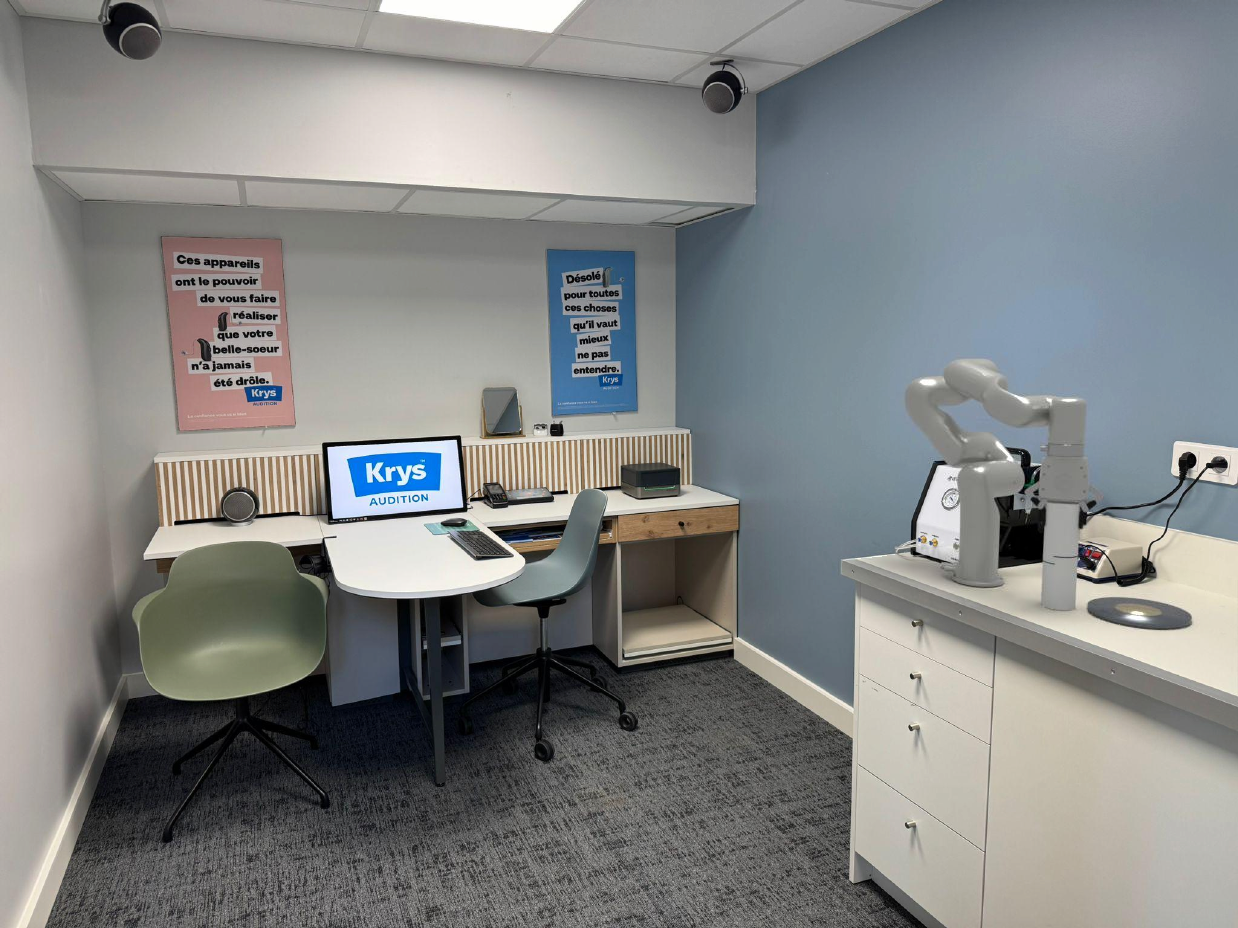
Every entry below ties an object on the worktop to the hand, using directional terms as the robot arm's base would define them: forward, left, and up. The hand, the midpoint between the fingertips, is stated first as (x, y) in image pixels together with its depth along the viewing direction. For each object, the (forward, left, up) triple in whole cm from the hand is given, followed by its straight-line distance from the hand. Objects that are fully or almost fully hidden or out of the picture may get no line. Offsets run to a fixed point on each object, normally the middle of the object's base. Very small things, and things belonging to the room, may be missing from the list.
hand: (1061, 525), depth 190 cm
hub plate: (+16, 0, -19) cm, 25 cm away
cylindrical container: (0, 0, -19) cm, 19 cm away
